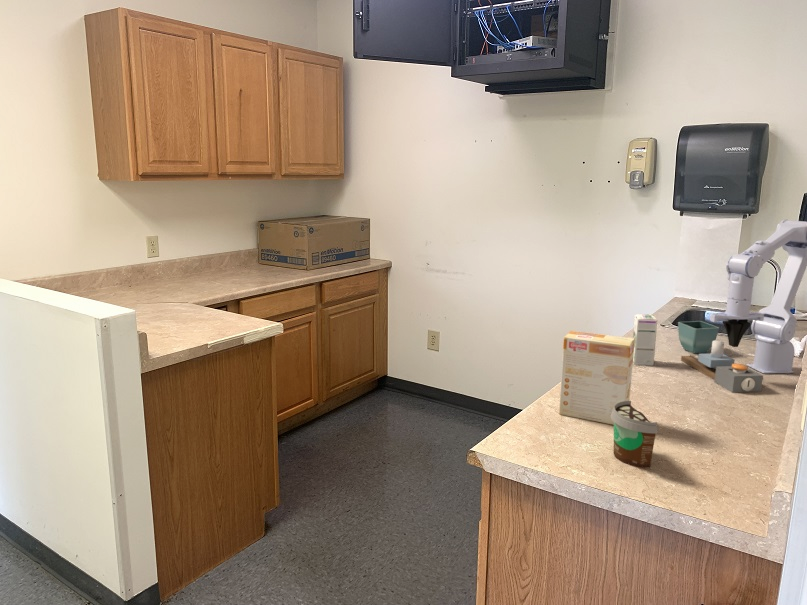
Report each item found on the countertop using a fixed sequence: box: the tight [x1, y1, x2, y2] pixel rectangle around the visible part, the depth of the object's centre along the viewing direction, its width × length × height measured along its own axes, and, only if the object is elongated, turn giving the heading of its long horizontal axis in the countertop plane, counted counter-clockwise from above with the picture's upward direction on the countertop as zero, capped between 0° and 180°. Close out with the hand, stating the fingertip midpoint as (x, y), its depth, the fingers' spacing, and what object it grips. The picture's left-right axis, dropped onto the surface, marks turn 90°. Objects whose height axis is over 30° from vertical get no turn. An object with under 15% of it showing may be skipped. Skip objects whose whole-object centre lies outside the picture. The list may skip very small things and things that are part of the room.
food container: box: [611, 400, 659, 469], centre depth 122 cm, size 12×6×10 cm, turn 5°
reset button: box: [732, 363, 749, 374], centre depth 163 cm, size 4×4×4 cm
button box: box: [714, 366, 764, 393], centre depth 163 cm, size 8×8×4 cm
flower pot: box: [677, 320, 720, 354], centre depth 194 cm, size 9×9×9 cm
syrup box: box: [632, 313, 658, 367], centre depth 182 cm, size 6×6×14 cm
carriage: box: [698, 339, 735, 368], centre depth 172 cm, size 7×6×7 cm
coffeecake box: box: [558, 330, 635, 426], centre depth 142 cm, size 15×7×20 cm, turn 61°
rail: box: [680, 352, 716, 381], centre depth 177 cm, size 6×18×2 cm, turn 5°
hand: (733, 345), depth 168 cm, fingers closed
